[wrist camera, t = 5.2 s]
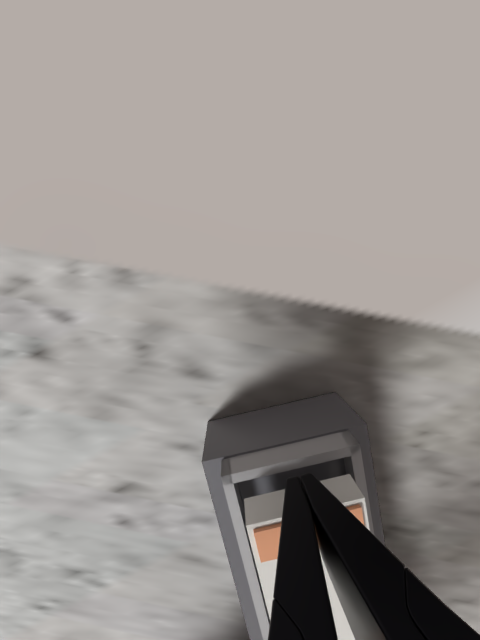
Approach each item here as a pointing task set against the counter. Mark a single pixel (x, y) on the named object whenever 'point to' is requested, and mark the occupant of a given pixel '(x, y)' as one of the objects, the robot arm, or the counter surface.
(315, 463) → the rocker switch panel
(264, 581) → the rocker
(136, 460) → the counter surface
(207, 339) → the counter surface
